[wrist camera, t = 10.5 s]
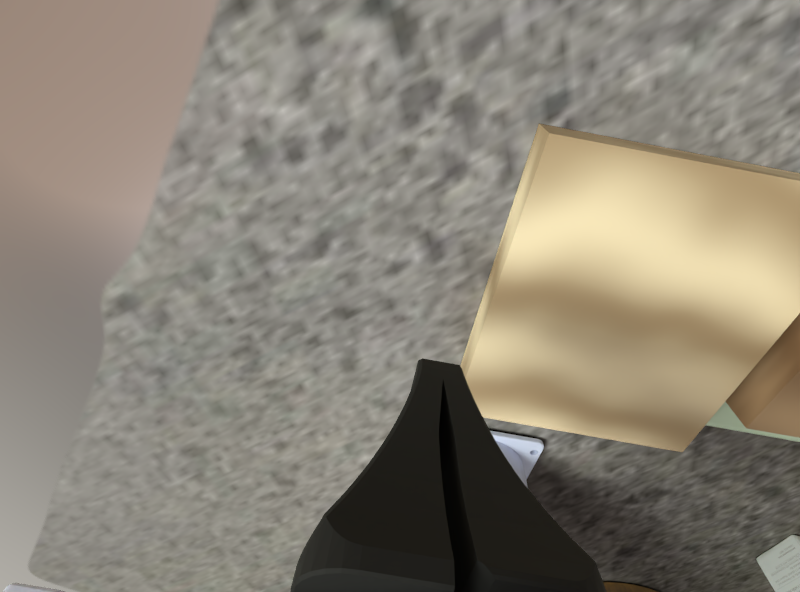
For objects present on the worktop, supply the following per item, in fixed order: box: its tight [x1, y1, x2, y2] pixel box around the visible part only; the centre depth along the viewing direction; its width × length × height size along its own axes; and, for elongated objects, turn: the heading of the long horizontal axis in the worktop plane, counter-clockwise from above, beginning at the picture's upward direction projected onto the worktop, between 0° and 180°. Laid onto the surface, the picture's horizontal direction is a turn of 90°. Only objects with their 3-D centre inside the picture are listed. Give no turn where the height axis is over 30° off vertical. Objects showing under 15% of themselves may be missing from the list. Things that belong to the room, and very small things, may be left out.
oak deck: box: [460, 124, 800, 452], centre depth 21 cm, size 16×14×2 cm
